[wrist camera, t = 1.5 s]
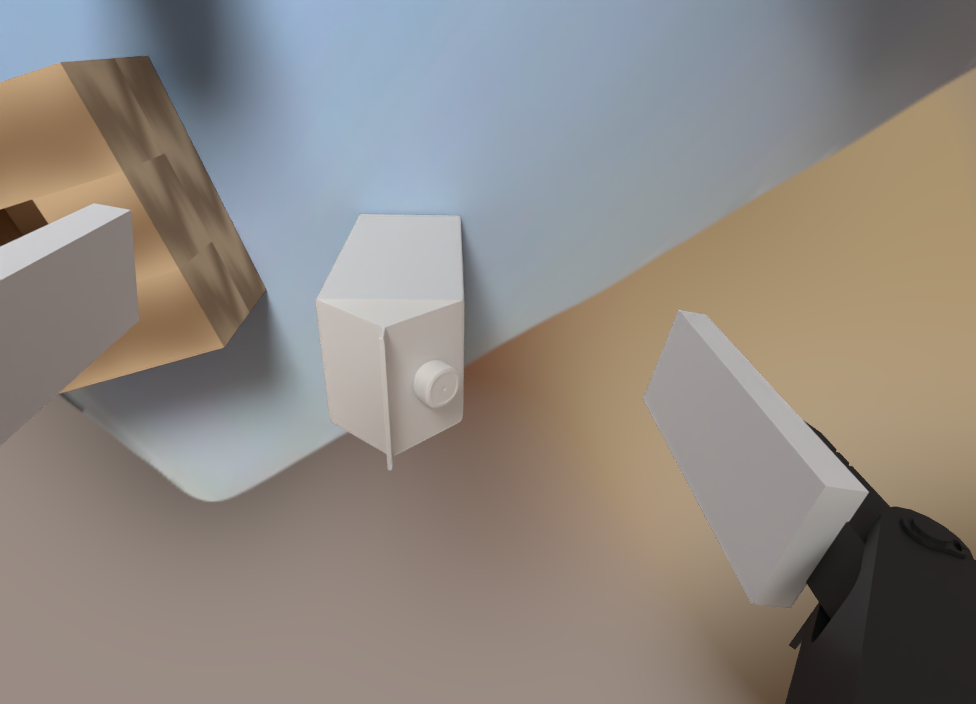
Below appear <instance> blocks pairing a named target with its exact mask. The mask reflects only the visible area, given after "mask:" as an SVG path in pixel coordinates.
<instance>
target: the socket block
mask: <svg viewBox="0 0 976 704" xmlns="http://www.w3.org/2000/svg"><path fill="white" fill-rule="evenodd" d="M93 203H95V204H101V205H106V206H112V207H117V208H123V209H128V210H131V216H132V230H133V243H134V257H135V270H136V284H137V297H138V311H139V321H138V322H137V323H136V324H135V325H133V326H132V327H131V328H130V329H129V330H128V331H127V332H126V333H125V334H124V335H122V336H121V337H120V338H119V339H118V340H117V341H116V342H115V343H114V344H112V345H111V346H110V347H109V348H108V349H107V350H106V351H105V352H104V353H103V354H101V355H100V356H99V357H98V358H97V359H96V360H95V361H94V362H93V363H92V364H90V365H89V366H88V367H87V368H86V369H85V370H84V371H83V372H82V373H80V374H79V375H78V376H77V377H76V378H75V379H74V380H73V381H72V382H71V383H69V384H68V385H67V386H66V387H65V388H64V389H63V390H62V391H61V392H60V393H64V392H67V391H71V390H74V389H78V388H81V387H85V386H89V385H92V384H96V383H99V382H103V381H106V380H110V379H114V378H117V377H121V376H124V375H128V374H131V373H135V372H139V371H142V370H146V369H149V368H153V367H156V366H160V365H164V364H167V363H171V362H174V361H178V360H182V359H185V358H189V357H192V356H196V355H199V354H203V353H207V352H210V351H214V350H217V349H221V348H224V347H225V346H226V344H227V343H228V342H229V340H230V339H231V338H232V336H233V335H234V333H235V332H236V331H237V329H238V328H239V327H240V325H241V324H242V322H243V321H244V320H245V318H246V317H247V315H248V314H249V313H250V311H251V310H252V309H253V307H254V306H255V304H256V303H257V302H258V300H259V299H260V298H261V296H262V295H263V293H264V292H265V291H266V288H265V286H264V284H263V282H262V280H261V278H260V276H259V274H258V272H257V270H256V268H255V267H254V265H253V263H252V261H251V259H250V257H249V255H248V253H247V251H246V249H245V247H244V245H243V243H242V241H241V239H240V237H239V235H238V233H237V231H236V229H235V227H234V225H233V223H232V221H231V219H230V217H229V215H228V213H227V211H226V209H225V207H224V205H223V203H222V201H221V199H220V197H219V195H218V193H217V191H216V189H215V187H214V185H213V183H212V181H211V179H210V177H209V176H208V174H207V172H206V170H205V168H204V166H203V164H202V162H201V160H200V158H199V156H198V154H197V152H196V150H195V148H194V146H193V144H192V142H191V140H190V138H189V136H188V134H187V132H186V130H185V128H184V126H183V124H182V122H181V120H180V118H179V116H178V114H177V112H176V110H175V108H174V106H173V104H172V102H171V100H170V98H169V96H168V94H167V92H166V90H165V88H164V86H163V85H162V83H161V81H160V79H159V77H158V75H157V73H156V71H155V69H154V67H153V65H152V63H151V61H150V59H149V57H148V56H139V57H126V58H113V59H100V60H87V61H74V62H61V63H57V64H54V65H51V66H48V67H45V68H42V69H39V70H36V71H33V72H30V73H27V74H24V75H21V76H18V77H15V78H12V79H9V80H6V81H3V82H0V247H1V246H3V245H5V244H7V243H9V242H11V241H14V240H16V239H18V238H20V237H22V236H24V235H27V234H29V233H31V232H33V231H35V230H37V229H39V228H42V227H44V226H46V225H48V224H50V223H52V222H55V221H57V220H59V219H61V218H63V217H65V216H68V215H70V214H72V213H74V212H76V211H78V210H80V209H83V208H85V207H87V206H89V205H91V204H93ZM60 393H58V394H60Z"/></svg>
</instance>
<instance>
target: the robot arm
mask: <svg viewBox="0 0 976 704" xmlns="http://www.w3.org/2000/svg"><path fill="white" fill-rule="evenodd" d="M138 321H139V311H138V297H137V284H136V270H135V257H134V243H133V230H132V216H131V210H128V209H123V208H117V207H112V206H106V205H101V204H95V203H93V204H91V205H89V206H87V207H85V208H83V209H80V210H78V211H76V212H74V213H72V214H70V215H68V216H65V217H63V218H61V219H59V220H57V221H55V222H52V223H50V224H48V225H46V226H44V227H42V228H39V229H37V230H35V231H33V232H31V233H29V234H27V235H24V236H22V237H20V238H18V239H16V240H14V241H11V242H9V243H7V244H5V245H3V246H1V247H0V446H1V445H2V444H3V443H4V442H5V441H7V440H8V439H9V438H10V437H11V436H12V435H13V434H14V433H15V432H16V431H18V430H19V429H20V428H21V427H22V426H23V425H24V424H25V423H26V422H28V420H30V419H31V418H32V417H33V416H34V415H35V414H36V413H37V412H38V411H40V410H41V409H42V408H43V407H44V406H45V405H46V404H47V403H48V402H50V401H51V400H52V399H53V398H54V397H55V396H56V395H57V394H58V393H60V392H61V391H62V390H63V389H64V388H65V387H66V386H67V385H68V384H69V383H71V382H72V381H73V380H74V379H75V378H76V377H77V376H78V375H79V374H80V373H82V372H83V371H84V370H85V369H86V368H87V367H88V366H89V365H90V364H92V363H93V362H94V361H95V360H96V359H97V358H98V357H99V356H100V355H101V354H103V353H104V352H105V351H106V350H107V349H108V348H109V347H110V346H111V345H112V344H114V343H115V342H116V341H117V340H118V339H119V338H120V337H121V336H122V335H124V334H125V333H126V332H127V331H128V330H129V329H130V328H131V327H132V326H133V325H135V324H136V323H137V322H138ZM643 400H644V402H645V404H646V406H647V408H648V409H649V411H650V413H651V415H652V417H653V419H654V421H655V423H656V425H657V427H658V428H659V430H660V432H661V434H662V436H663V438H664V440H665V442H666V443H667V445H668V447H669V449H670V451H671V453H672V455H673V457H674V459H675V460H676V462H677V464H678V466H679V468H680V470H681V472H682V474H683V476H684V477H685V479H686V481H687V483H688V485H689V487H690V488H691V491H692V493H693V495H694V496H695V498H696V500H697V502H698V504H699V506H700V508H701V510H702V512H703V513H704V515H705V517H706V519H707V521H708V523H709V525H710V527H711V529H712V530H713V532H714V534H715V536H716V538H717V540H718V542H719V544H720V545H721V547H722V549H723V551H724V553H725V555H726V557H727V559H728V560H729V563H730V564H731V566H732V568H733V570H734V572H735V574H736V576H737V578H738V579H739V581H740V583H741V585H742V587H743V589H744V591H745V592H746V595H747V597H748V598H749V600H750V602H751V604H754V605H764V606H773V607H783V608H791V607H792V605H793V604H794V602H795V600H796V599H797V598H798V596H799V595H800V593H801V592H802V591H803V589H804V588H805V586H806V585H807V584H808V586H809V587H810V589H811V590H812V592H813V594H814V595H815V597H816V598H817V600H818V601H819V603H818V605H817V606H816V607H815V609H814V610H813V612H812V613H811V614H810V616H809V617H808V619H807V620H806V622H805V623H804V624H803V626H802V627H801V629H800V630H799V632H798V633H797V634H796V636H795V637H794V639H793V640H792V641H791V643H790V644H789V646H791V647H792V648H794V649H796V648H797V647H798V646H799V644H800V643H801V647H800V651H799V654H798V658H797V662H796V665H795V669H794V673H793V677H792V680H791V684H790V688H789V691H788V695H787V699H786V703H785V704H976V560H974V559H973V556H972V554H971V552H970V550H969V549H968V548H967V546H966V545H965V544H964V543H963V542H962V541H961V540H960V539H959V538H958V537H957V536H956V535H955V534H953V533H952V532H950V531H949V530H948V529H947V528H946V527H944V526H942V525H941V524H939V523H937V522H936V521H934V520H932V519H931V518H929V517H927V516H925V515H922V514H920V513H917V512H915V511H913V510H910V509H905V508H901V507H890V506H889V505H888V504H887V503H886V502H885V501H884V500H883V499H882V498H881V497H880V495H878V493H877V492H876V491H875V490H874V489H873V488H872V487H871V486H870V485H869V484H868V483H867V482H866V481H865V479H864V478H863V477H862V476H861V475H860V474H859V473H858V472H857V471H856V470H855V469H854V468H853V467H852V466H849V462H848V461H847V460H846V459H845V458H844V457H843V456H842V455H841V454H840V453H838V452H836V448H835V447H834V446H833V445H832V444H831V443H830V442H829V441H828V440H827V439H826V438H825V437H824V436H823V435H822V433H820V432H819V431H818V430H816V429H815V428H813V427H812V426H811V425H809V424H808V423H806V422H805V421H804V420H802V419H801V418H800V416H799V415H798V414H797V413H796V412H795V411H794V410H793V409H792V408H791V407H790V406H789V405H788V403H787V402H786V401H785V400H784V399H783V398H782V397H781V396H780V395H779V394H778V393H777V391H776V390H775V389H774V388H773V387H772V386H771V385H770V384H769V383H768V382H767V380H765V378H764V377H763V376H762V375H761V374H760V373H759V372H758V371H757V370H756V369H755V367H754V366H753V365H752V364H751V363H750V362H749V361H748V360H747V359H746V358H745V357H744V355H743V354H742V353H741V352H740V351H739V350H738V349H737V348H736V347H735V346H734V345H733V343H732V342H731V341H730V340H729V339H728V338H727V337H726V336H725V335H724V334H723V333H722V331H721V330H720V329H719V328H718V327H717V326H716V325H715V324H714V323H713V322H712V321H711V320H710V319H709V317H708V316H707V315H705V314H699V313H694V312H688V311H683V310H678V312H677V315H676V317H675V320H674V323H673V325H672V327H671V330H670V332H669V335H668V338H667V340H666V343H665V345H664V347H663V350H662V352H661V355H660V357H659V360H658V362H657V365H656V367H655V370H654V372H653V375H652V377H651V380H650V382H649V385H648V387H647V390H646V392H645V395H644V397H643Z"/></svg>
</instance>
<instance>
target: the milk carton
mask: <svg viewBox="0 0 976 704" xmlns="http://www.w3.org/2000/svg"><path fill="white" fill-rule="evenodd" d="M316 309H317V318H318V326H319V334H320V342H321V350H322V358H323V367H324V375H325V383H326V391H327V399H328V407H329V414H330V420H331V422H332V423H334V424H336V425H337V426H339V427H341V428H342V429H344V430H346V431H348V432H349V433H351V434H353V435H355V436H356V437H358V438H360V439H362V440H363V441H365V442H367V443H368V444H370V445H372V446H373V447H375V448H377V449H379V450H380V451H382V452H384V453H385V454H387V465H388V470H392V465H393V458H394V456H396V455H398V454H399V453H401V452H404V451H405V450H407V449H409V448H411V447H413V446H415V445H417V444H419V443H421V442H423V441H424V440H427V439H428V438H430V437H432V436H434V435H436V434H438V433H440V432H442V431H444V430H446V429H448V428H450V427H452V426H454V425H456V424H457V423H459V422H461V420H462V418H463V406H464V405H463V403H464V332H465V305H464V279H463V256H462V234H461V217H460V216H453V215H387V214H360V215H359V217H358V219H357V221H356V223H355V225H354V227H353V228H352V230H351V232H350V234H349V236H348V238H347V240H346V242H345V244H344V246H343V248H342V250H341V252H340V254H339V256H338V258H337V260H336V262H335V264H334V266H333V268H332V270H331V272H330V274H329V275H328V277H327V279H326V281H325V283H324V285H323V287H322V289H321V291H320V293H319V295H318V297H317V299H316Z"/></svg>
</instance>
